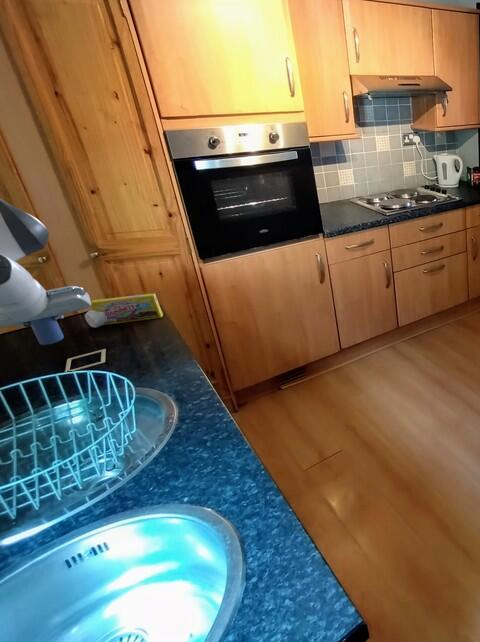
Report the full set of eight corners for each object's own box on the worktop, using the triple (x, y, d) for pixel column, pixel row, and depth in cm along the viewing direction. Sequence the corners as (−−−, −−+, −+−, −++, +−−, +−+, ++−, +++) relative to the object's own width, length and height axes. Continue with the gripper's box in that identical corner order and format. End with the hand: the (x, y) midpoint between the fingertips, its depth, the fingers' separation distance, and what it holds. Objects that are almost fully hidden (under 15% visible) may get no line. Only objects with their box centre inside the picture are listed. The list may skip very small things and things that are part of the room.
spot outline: (65, 373, 117) (64, 372, 117) (67, 359, 123) (67, 358, 123) (104, 362, 122) (104, 361, 122) (105, 349, 127) (105, 348, 127)
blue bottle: (38, 346, 109) (17, 304, 104) (40, 339, 112) (20, 297, 107) (63, 340, 111) (43, 299, 107) (64, 333, 114) (45, 292, 110)
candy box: (99, 326, 139) (89, 302, 135) (102, 323, 141) (92, 299, 137) (161, 318, 144) (153, 295, 140) (163, 315, 145) (155, 292, 142)
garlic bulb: (120, 320, 142) (114, 305, 139) (98, 330, 136) (91, 314, 134) (109, 317, 143) (103, 302, 141) (87, 326, 138) (81, 310, 136)
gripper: (78, 274, 106) (95, 296, 116) (-52, 299, 94) (-20, 321, 105) (84, 298, 104) (101, 318, 115) (-47, 326, 92) (-15, 346, 103)
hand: (42, 320), depth 110 cm, fingers closed on blue bottle, 4 cm apart
